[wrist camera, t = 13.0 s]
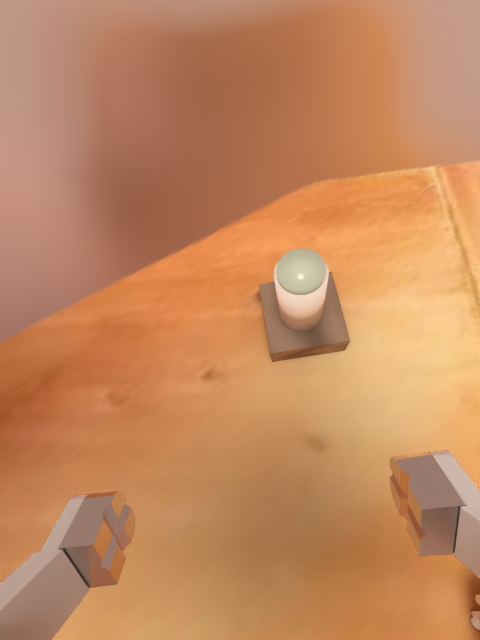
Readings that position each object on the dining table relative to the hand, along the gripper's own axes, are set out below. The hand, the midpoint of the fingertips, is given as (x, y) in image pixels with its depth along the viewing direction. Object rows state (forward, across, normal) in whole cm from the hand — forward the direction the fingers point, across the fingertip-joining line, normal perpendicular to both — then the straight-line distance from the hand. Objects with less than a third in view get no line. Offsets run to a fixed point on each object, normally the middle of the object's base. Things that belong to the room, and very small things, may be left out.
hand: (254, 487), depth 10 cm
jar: (+28, -5, +7) cm, 29 cm away
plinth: (+31, -5, +10) cm, 33 cm away
